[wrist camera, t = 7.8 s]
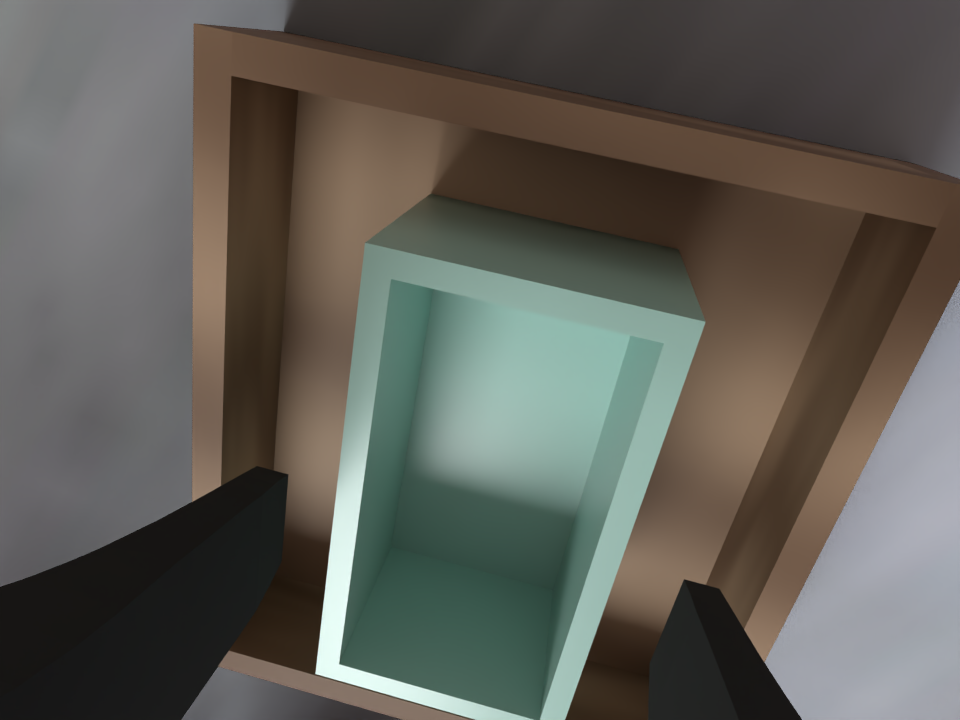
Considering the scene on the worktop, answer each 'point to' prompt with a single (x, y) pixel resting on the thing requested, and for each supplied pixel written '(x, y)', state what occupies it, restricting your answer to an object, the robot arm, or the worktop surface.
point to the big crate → (583, 203)
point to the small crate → (496, 452)
